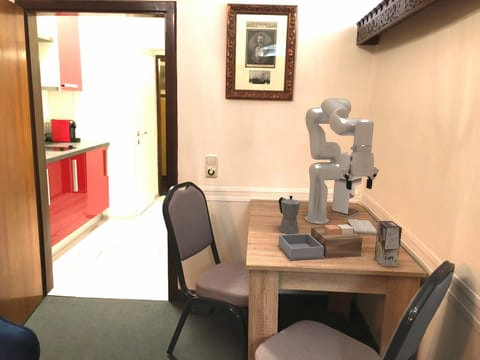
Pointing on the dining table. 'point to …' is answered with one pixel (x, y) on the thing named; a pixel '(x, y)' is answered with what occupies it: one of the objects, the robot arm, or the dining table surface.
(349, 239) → the block
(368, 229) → the washcloth
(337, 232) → the tile
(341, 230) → the tile
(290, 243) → the box
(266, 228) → the dining table surface
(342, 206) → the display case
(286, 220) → the coffeepot
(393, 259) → the coffee box
